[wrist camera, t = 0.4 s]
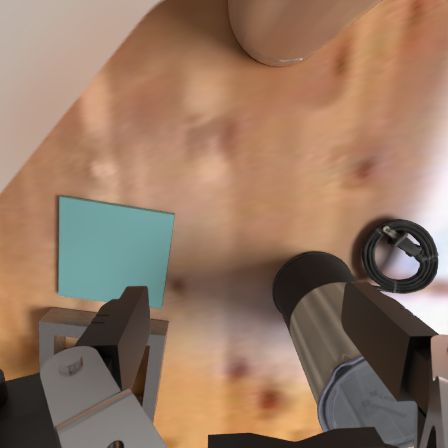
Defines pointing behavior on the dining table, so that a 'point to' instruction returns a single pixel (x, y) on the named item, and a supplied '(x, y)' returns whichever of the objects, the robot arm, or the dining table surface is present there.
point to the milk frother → (339, 341)
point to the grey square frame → (76, 325)
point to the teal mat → (112, 249)
